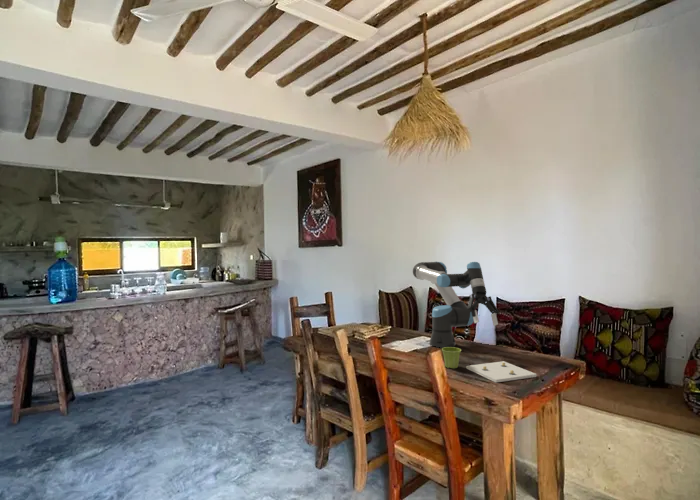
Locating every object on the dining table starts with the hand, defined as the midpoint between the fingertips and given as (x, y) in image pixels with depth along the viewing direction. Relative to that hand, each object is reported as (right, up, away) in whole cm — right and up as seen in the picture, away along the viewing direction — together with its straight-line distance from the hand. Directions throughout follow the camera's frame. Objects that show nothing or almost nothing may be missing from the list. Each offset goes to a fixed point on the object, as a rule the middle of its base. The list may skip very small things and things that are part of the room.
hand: (486, 323), depth 219 cm
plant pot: (-24, -18, -19) cm, 35 cm away
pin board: (-3, -18, -29) cm, 34 cm away
